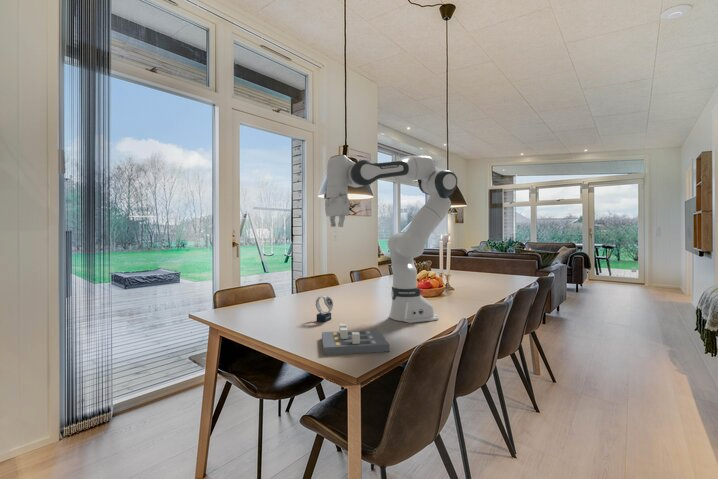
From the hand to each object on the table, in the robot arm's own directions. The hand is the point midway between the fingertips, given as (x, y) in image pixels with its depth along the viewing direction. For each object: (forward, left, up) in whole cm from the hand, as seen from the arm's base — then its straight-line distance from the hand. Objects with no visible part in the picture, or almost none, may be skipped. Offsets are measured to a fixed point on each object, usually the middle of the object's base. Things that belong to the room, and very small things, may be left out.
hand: (336, 226), depth 150 cm
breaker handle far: (-1, +20, -39) cm, 44 cm away
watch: (+5, -8, -42) cm, 43 cm away
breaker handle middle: (-1, +26, -39) cm, 47 cm away
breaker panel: (-4, +26, -42) cm, 49 cm away
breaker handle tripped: (-4, +31, -39) cm, 50 cm away
